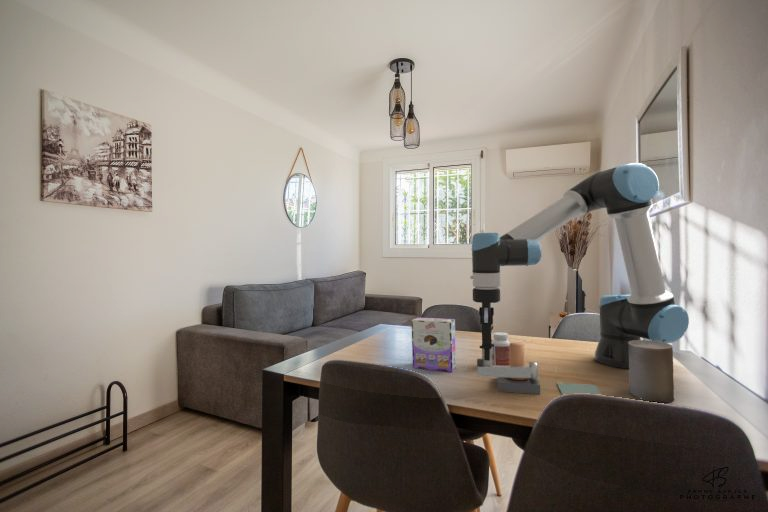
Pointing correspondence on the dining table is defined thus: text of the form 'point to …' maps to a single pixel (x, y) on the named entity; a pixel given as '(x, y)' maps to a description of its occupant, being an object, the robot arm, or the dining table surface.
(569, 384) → the mat
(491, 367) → the clip
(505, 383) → the socket
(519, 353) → the plug
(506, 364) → the pill bottle
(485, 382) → the dining table surface
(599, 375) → the dining table surface
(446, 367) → the candy box
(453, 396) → the dining table surface
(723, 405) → the dining table surface
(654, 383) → the pillar candle
